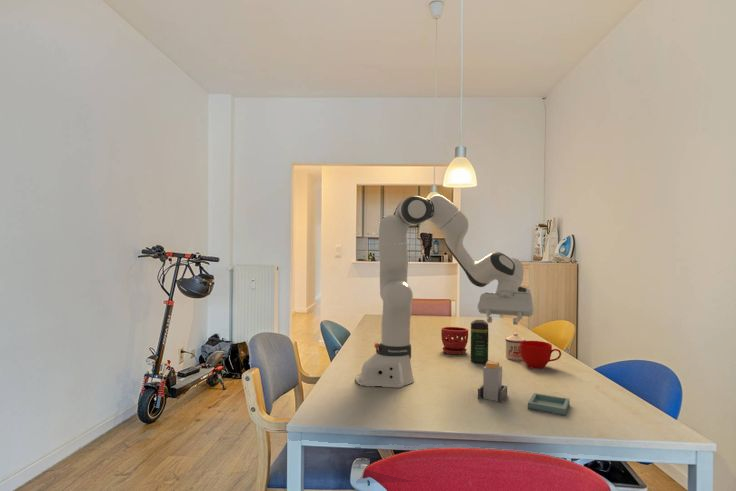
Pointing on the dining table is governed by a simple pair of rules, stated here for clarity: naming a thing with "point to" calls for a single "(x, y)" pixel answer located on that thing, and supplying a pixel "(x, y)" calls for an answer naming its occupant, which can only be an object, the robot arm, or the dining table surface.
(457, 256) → the robot arm
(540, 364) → the ceramic cup
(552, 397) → the tray
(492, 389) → the grey pillar orange cap
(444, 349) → the plant pot
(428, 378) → the dining table surface
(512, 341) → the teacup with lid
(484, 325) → the coffee jar
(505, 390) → the bay
